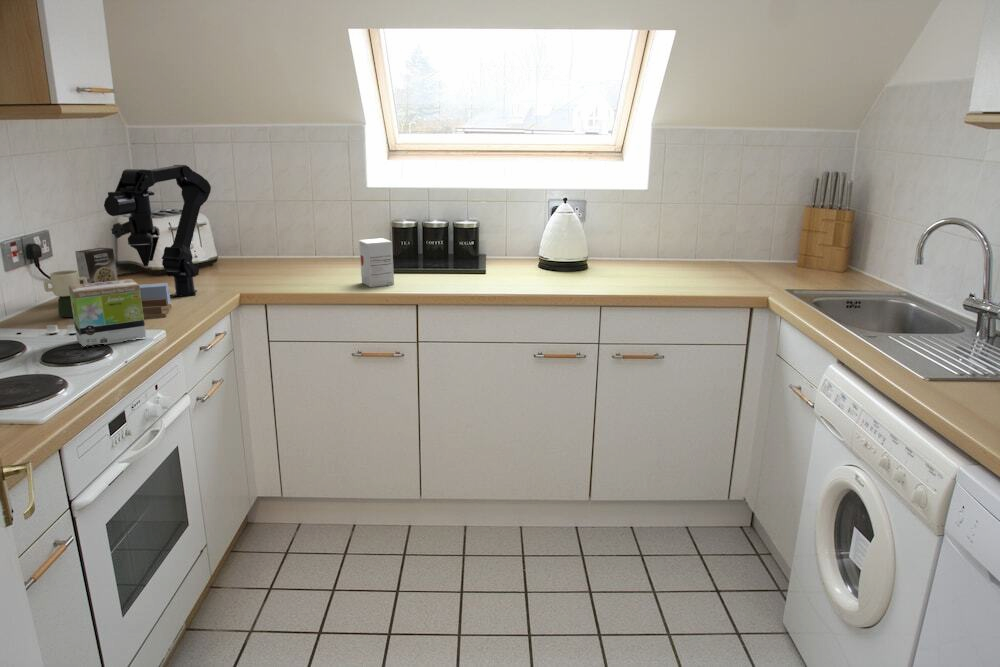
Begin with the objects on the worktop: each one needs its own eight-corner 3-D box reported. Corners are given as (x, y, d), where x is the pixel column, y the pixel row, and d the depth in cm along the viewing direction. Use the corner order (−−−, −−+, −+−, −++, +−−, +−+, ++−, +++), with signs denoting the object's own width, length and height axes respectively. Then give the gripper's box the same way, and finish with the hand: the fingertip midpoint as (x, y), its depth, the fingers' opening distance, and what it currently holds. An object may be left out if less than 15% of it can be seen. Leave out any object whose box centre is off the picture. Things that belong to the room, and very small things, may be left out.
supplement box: (360, 282, 257) (358, 239, 252) (385, 280, 261) (383, 237, 256) (369, 287, 249) (366, 243, 245) (394, 284, 253) (392, 240, 249)
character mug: (92, 311, 222) (85, 268, 218) (92, 316, 216) (85, 272, 212) (50, 316, 217) (42, 272, 213) (49, 321, 211) (41, 276, 207)
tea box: (82, 349, 184) (72, 291, 180) (76, 340, 192) (67, 284, 188) (147, 339, 192) (139, 283, 188) (139, 331, 200) (131, 277, 196)
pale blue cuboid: (139, 303, 231) (136, 284, 230) (170, 301, 234) (168, 282, 232) (136, 307, 227) (133, 288, 225) (168, 305, 229) (165, 286, 227)
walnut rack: (121, 311, 222) (119, 301, 221) (171, 307, 225) (170, 297, 224) (112, 321, 211) (110, 310, 210) (165, 317, 214) (164, 306, 213)
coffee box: (94, 303, 232) (86, 252, 227) (82, 301, 235) (73, 251, 230) (121, 297, 239) (113, 247, 235) (109, 295, 242) (101, 246, 238)
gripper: (117, 209, 229) (125, 259, 233) (104, 217, 212) (113, 271, 216) (156, 208, 232) (163, 257, 236) (147, 215, 214) (154, 268, 219)
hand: (148, 263), depth 227 cm, fingers open, 9 cm apart
